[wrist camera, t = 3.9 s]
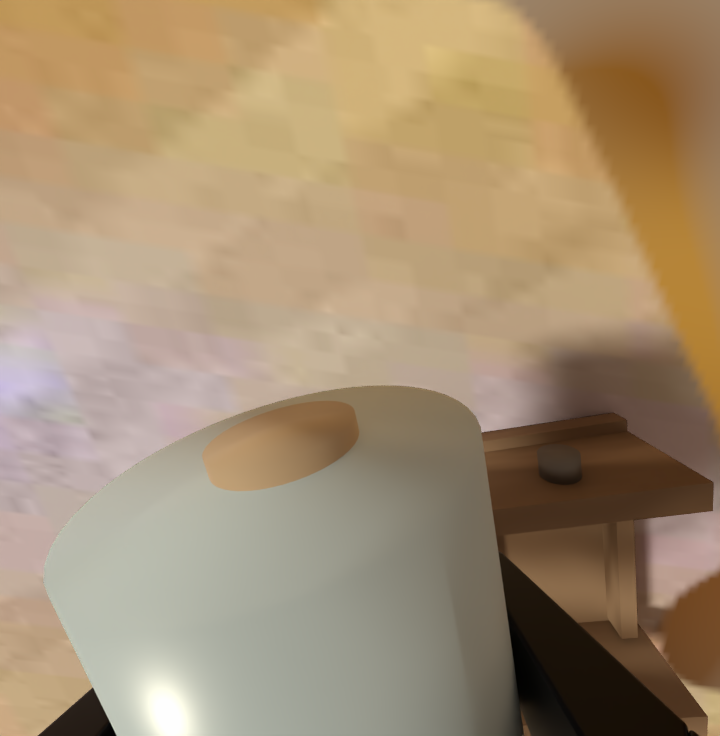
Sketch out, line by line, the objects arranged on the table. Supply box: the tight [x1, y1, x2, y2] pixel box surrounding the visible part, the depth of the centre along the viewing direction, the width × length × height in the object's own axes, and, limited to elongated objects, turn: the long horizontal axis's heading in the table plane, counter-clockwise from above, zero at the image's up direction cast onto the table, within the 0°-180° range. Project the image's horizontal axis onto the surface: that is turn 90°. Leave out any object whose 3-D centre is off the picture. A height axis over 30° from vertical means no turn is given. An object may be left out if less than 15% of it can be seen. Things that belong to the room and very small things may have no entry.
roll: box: [43, 386, 524, 736], centre depth 6 cm, size 9×6×6 cm, turn 12°
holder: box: [482, 413, 714, 736], centre depth 17 cm, size 15×9×6 cm, turn 12°
